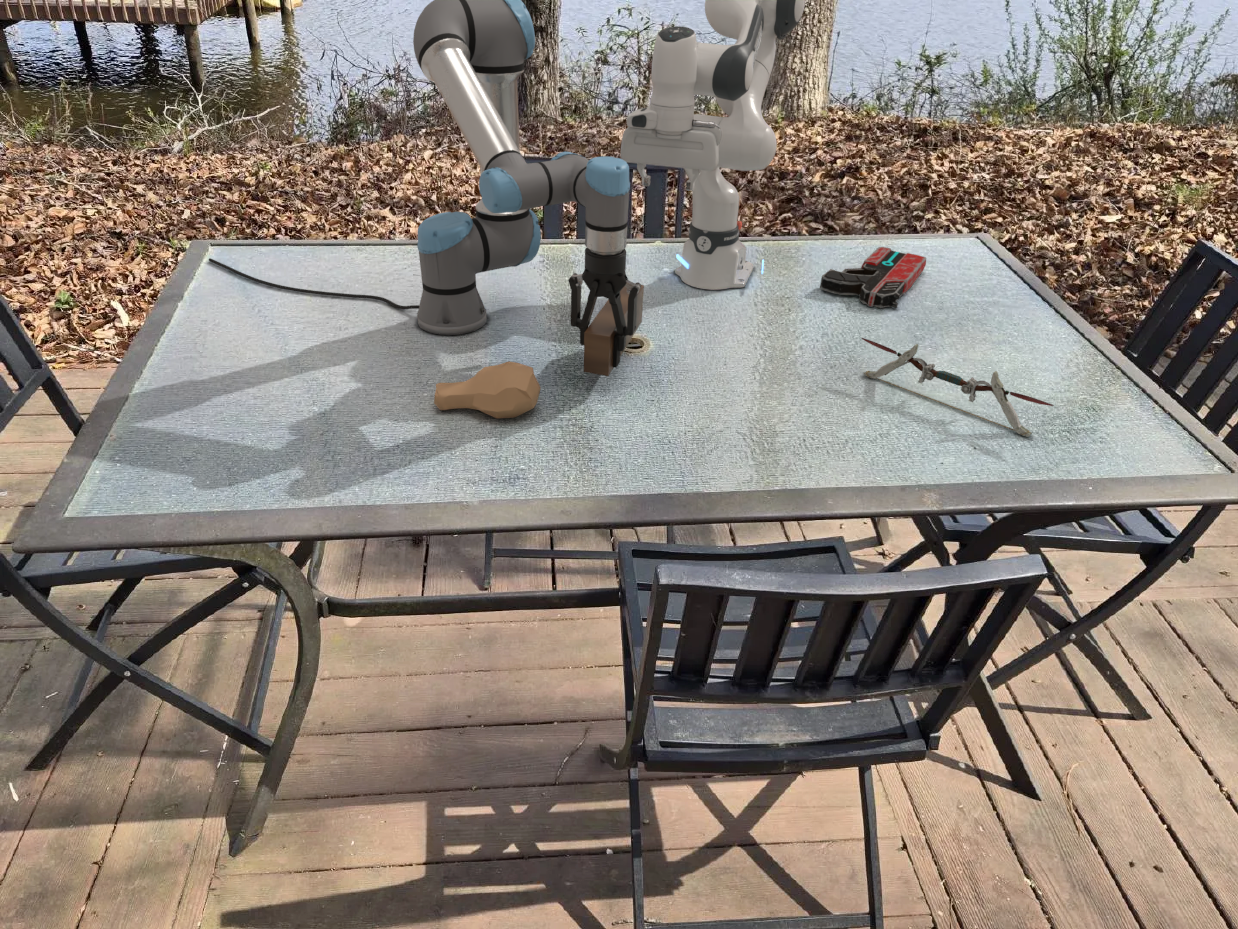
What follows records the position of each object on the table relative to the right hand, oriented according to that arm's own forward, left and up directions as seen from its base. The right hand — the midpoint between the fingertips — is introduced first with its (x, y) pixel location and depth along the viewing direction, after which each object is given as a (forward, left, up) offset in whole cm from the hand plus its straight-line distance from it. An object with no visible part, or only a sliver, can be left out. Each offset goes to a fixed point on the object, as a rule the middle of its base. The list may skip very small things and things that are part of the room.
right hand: (667, 187), depth 183 cm
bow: (+7, +64, -30) cm, 71 cm away
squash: (+53, -11, -30) cm, 62 cm away
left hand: (+33, +3, -25) cm, 42 cm away
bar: (+25, +1, -26) cm, 36 cm away
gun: (-48, +37, -30) cm, 68 cm away
